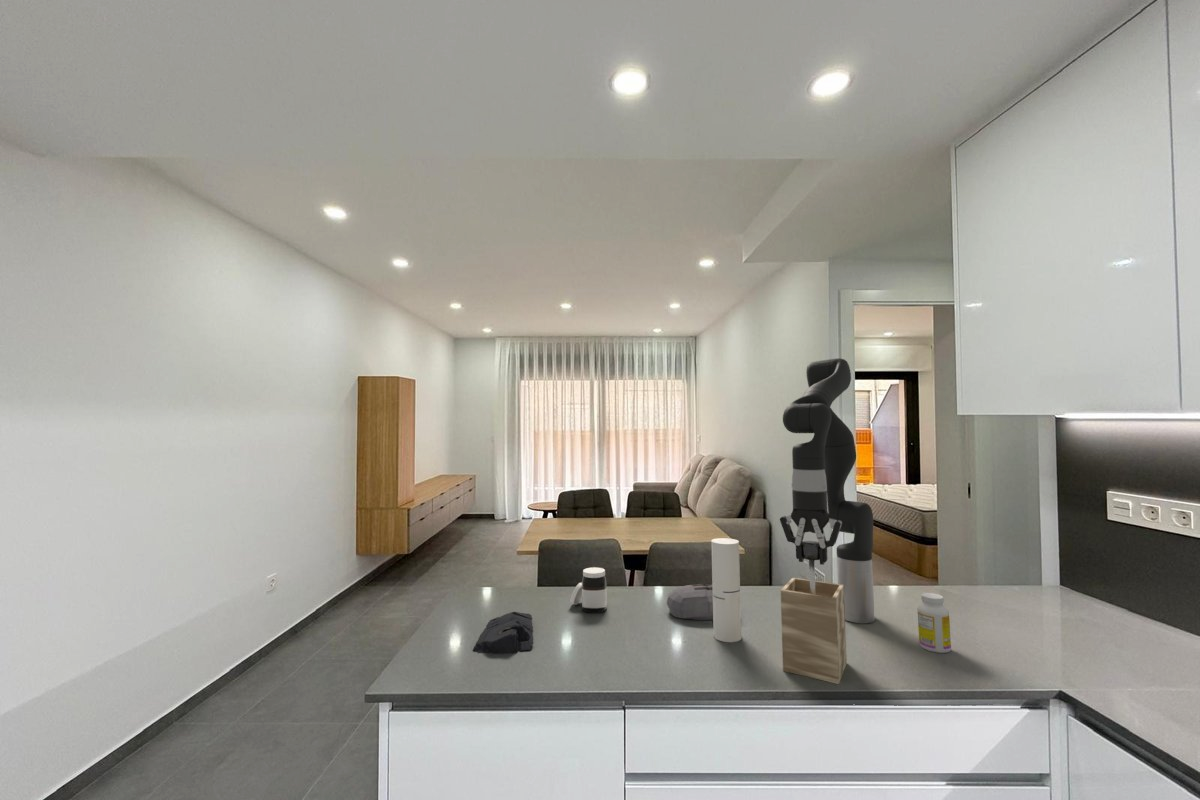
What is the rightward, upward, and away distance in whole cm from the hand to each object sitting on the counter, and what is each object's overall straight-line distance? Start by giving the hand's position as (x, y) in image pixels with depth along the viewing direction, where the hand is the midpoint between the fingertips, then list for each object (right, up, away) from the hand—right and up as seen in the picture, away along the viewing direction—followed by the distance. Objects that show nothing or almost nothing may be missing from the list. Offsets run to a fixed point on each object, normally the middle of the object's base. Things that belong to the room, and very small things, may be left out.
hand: (811, 562), depth 120 cm
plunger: (0, -18, -1) cm, 18 cm away
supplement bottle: (+34, -24, +8) cm, 42 cm away
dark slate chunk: (-74, -26, +19) cm, 81 cm away
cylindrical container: (-16, -25, +16) cm, 34 cm away
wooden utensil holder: (0, -24, -1) cm, 24 cm away
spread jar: (-53, -27, +40) cm, 71 cm away
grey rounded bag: (-19, -26, +34) cm, 47 cm away
